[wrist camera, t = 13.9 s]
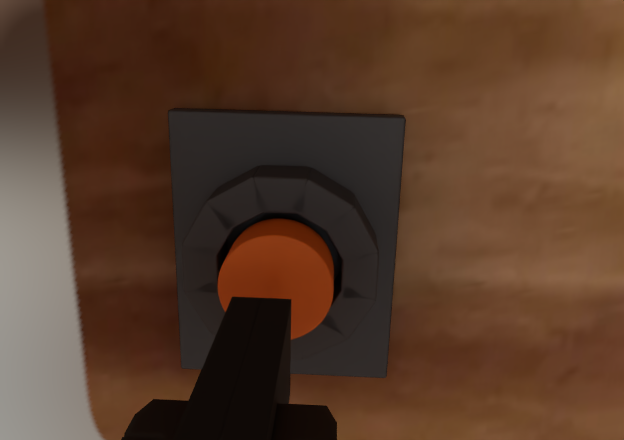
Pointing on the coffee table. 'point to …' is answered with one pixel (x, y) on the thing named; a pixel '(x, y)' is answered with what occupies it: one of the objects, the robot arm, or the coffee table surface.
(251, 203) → the block
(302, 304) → the button
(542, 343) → the coffee table surface
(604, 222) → the coffee table surface
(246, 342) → the robot arm
